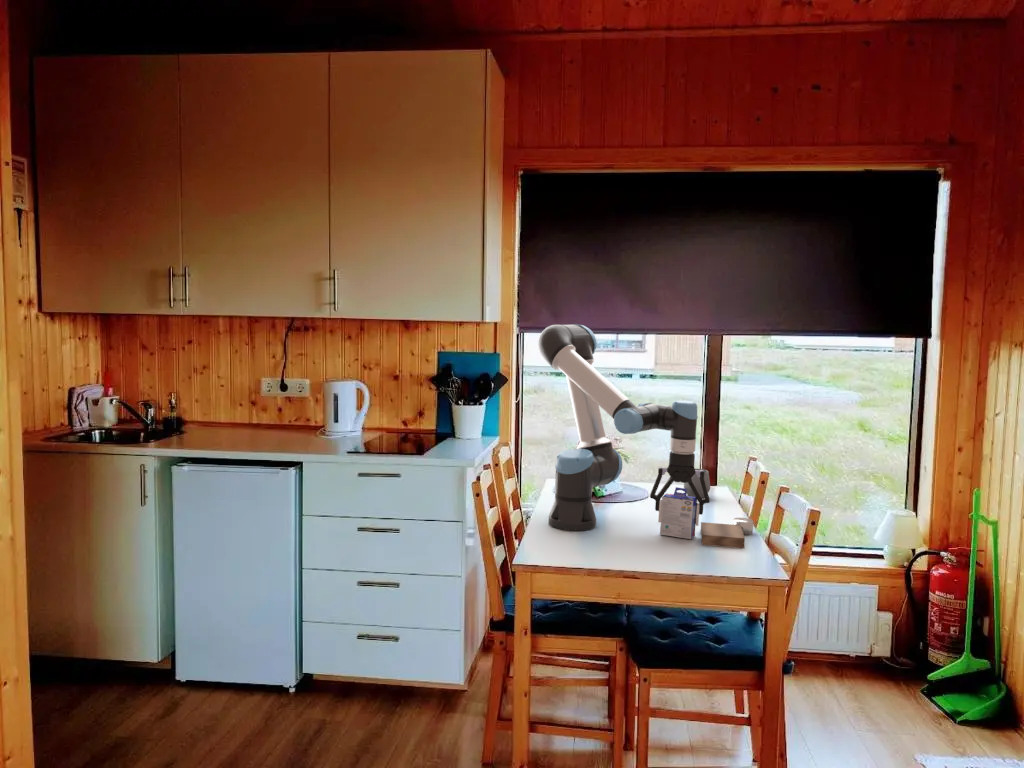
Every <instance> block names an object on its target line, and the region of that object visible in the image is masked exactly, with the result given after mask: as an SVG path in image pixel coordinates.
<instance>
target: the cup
mask: <svg viewBox="0 0 1024 768" xmlns="http://www.w3.org/2000/svg"><path fill="white" fill-rule="evenodd" d="M695 470H704V481H705V484H706V488H707V492H708V493H709V492H710V490H711V482H710V481H711V480H710V473H709V470H707V469H703V468H695ZM691 479H692V481H693V483H694V485H695V486H696V488H697V490H698V492H699V494H700V495H701V497H702V499H704V498H705V497H704V493H703V489H702V486H701V482H700V478H698V477H697V474H694V476H693V477H692V478H691ZM683 488H684V489H687V493H686V496H692V497H696V496H695V494H694V492H693V491H692V489H691V487H690V485H689V484H688V482H686V483H683Z"/></svg>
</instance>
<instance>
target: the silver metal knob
mask: <svg viewBox="0 0 1024 768" xmlns="http://www.w3.org/2000/svg"><path fill="white" fill-rule="evenodd" d="M732 525H741V528H742V531H743V534H744V536H751V535H753V532H754V520H753V519H752V518H747V517H734V518H733V523H732Z"/></svg>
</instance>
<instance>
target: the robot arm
mask: <svg viewBox="0 0 1024 768" xmlns="http://www.w3.org/2000/svg"><path fill="white" fill-rule="evenodd" d="M597 345H598V344H597V338H596V335H595V333H594V332H593V330H592V329H590V328H589V327H587V326H585V325H583V324H577V323H574V324H552V325H549V326H547V327H545V329H543V330H542V332H541V333H540V335H539V337H538V341H537V347H538V351H539V354H540V355H541V357H542V358H543V359H544V361H545V362H546V363H548V364H549V366H551V367H552V369H554V370H557V371H558V370H560V371H561V372H562V374H564V375H565V378H566V381H567V385H568V386H567V387H568V392H569V396H570V402H571V405H572V411H573V415H574V420H575V424H576V429H577V434H578V439H579V444H578V446H577V447H576V448H573V449H572V448H571V449H570V448H569V449H565V450H563V451H561V452H559V453H558V454H557V455H556V463H555V481H554V482H555V485H554V489H555V490H554V501H553V504H552V506H551V510H550V512H549V515H548V525H549V526H550V527H552V528H554V529H558V530H564V531H575V532H576V531H578V532H579V531H587V530H588V531H589V530H591V529H594V528H596V527H597V516H596V514H595V513H596V511H595V510H594V506H593V502H592V501H593V500H592V498H593V497H592V495H593V489H594V488H596V487H600V486H604V485H608V484H610V483H612V482H614V481H616V480H617V479H618V478H619V477H620V475H621V473H622V469H623V459H622V456H621V454H620V452H619V451H617V449H615V448H614V447H613V443H612V440H610V439H608V438H607V437H606V433H605V428H604V424H603V419H602V414H601V409H602V410H603V411H604V412H606V413H607V415H609V416H610V417H611V418H612V419H613V424H614V426H615V429H616V430H617V431H618V432H619V433H620V434H622V435H630V434H631V435H632V434H637V433H639V432H640V433H641V432H646V431H649V430H650V431H651V430H662V431H663V430H664V431H670V439H669V440H670V442H669V444H670V445H669V450H670V452H669V457H668V458H669V459H668V466H667V467H662V466H659V467H658V473H657V477H656V479H655V482H654V484H653V487H652V488H651V489H652V490H651V491H650V493H649V497H650V499H653V500H654V501H655V506H654V510H655V512H658V523H660V524H661V511H662V497H663V496H664V495H665V494H666V492H667V490H669V488H670V486H671V485H672V484H673V483H683V484H684V483H686V482H688V484H689V485H690V487H691V489H692V491H693V492H694V494H695V496H696V498H697V507H696V524H695V527H698V526H699V519H700V515H701V516H702V515H703V513H704V505H705V504H708V503H709V504H710V502H711V500H710V497H709V492H707V488H706V484H705V481H704V470H705V469H704V470H695V469H696V468H695V461H696V460H695V458H696V457H695V456H696V454H695V451H696V444H697V443H696V442H697V441H696V440H697V422H698V417H699V416H698V404H697V403H696V402H694V401H691V400H684V399H683V400H674V401H673V402H672V405H663V404H656V403H653V402H640V403H639V404H638V406H637V405H636V404H635V403H633V401H632V400H630V399H629V398H628V397H627V396H626V395H625V394H623V393H622V392H621V390H619V389H618V388H616V386H615V385H614V384H613V383H612V382H610V381H609V380H608V379H607V378H605V376H603V375H602V374H601V373H600V372H599V371H598V370H597V369H596V368H595V367H593V366H592V365H593V363H594V362H595V359H594V354H595V352H596V351H595V350H596V349H597ZM600 408H601V409H600ZM666 472H667V473H668V475H669V477H668V479H667V481H666V482H665V484H664V485H663V486H662V488H661V489H660V491H659V492H658V491H657V490H658V488H659V485H660V483H661V481H662V478H663V476H665V474H666ZM694 474H697V477H698V478H700V482H701V486H702V489H703V493H704V497H705V498H703V499H702V497H701V495H700V494H699V492H698V490H697V488H696V486H695V485H694V483H693V481H692V479H691V478H692V477H693V476H694ZM657 492H658V493H657ZM656 493H657V494H656Z"/></svg>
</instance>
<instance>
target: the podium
mask: <svg viewBox="0 0 1024 768" xmlns="http://www.w3.org/2000/svg"><path fill="white" fill-rule="evenodd" d="M700 538H701V545H703V546H714V547H726V548H735V547H736V548H735V549H745V541H746V540H745V535H744V534H743V531H742V528H741V525H733V524H729V523H726V524H725V523H719V522H718V523H716V522H707V521H706V522H704V521H702V522H700Z"/></svg>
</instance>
